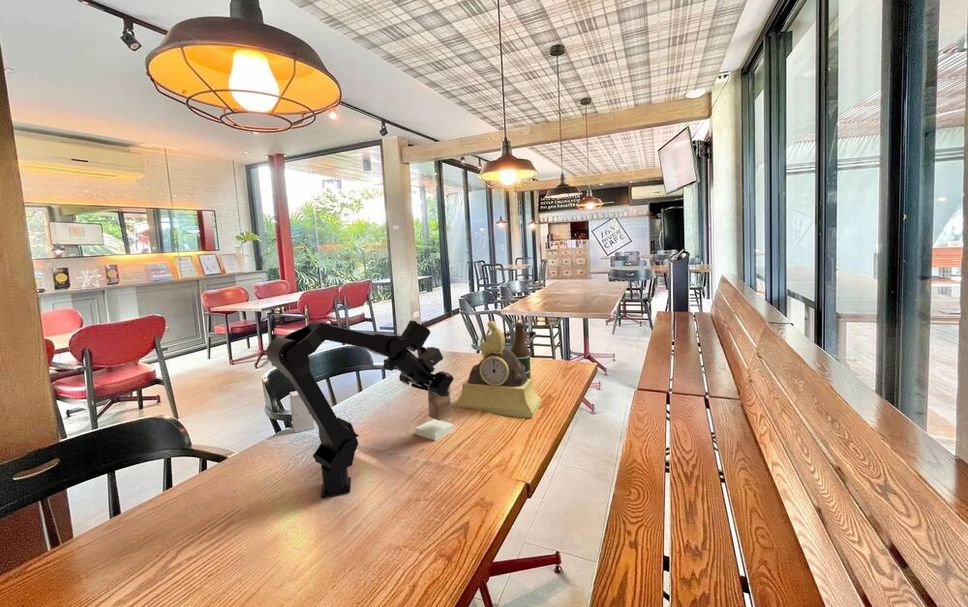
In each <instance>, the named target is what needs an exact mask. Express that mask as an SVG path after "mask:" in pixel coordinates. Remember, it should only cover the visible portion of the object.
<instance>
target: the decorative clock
mask: <svg viewBox="0 0 968 607" xmlns="http://www.w3.org/2000/svg"><path fill="white" fill-rule="evenodd" d="M486 325H487V327H488V330H486V335H485V336H486V337H485V340H486V341H482V342H480V343H479V346H480V351H481V352H480V353H481V355H482V357H483V359H481V360H480V361H479V362H478V364H474V365H473V366H472V367H471V370H470V372H469V376H468V379H466V380H465V381H464V382H463V383H462V385H461V387H462V389H461V393H460V395H459V397H458V398H457V400H455V401H454V402H453V403H452V404H451V407H458V408H466V409H467V408H469V409H475V410H477V411H481V412H485V413H489V414H491V415H497V416H507V417H516V418H525V419H526V418H527V419H534V418H535V415H536V413H537V412H538V410H539V408H540V407H541V405H542V398H541V397H540V396H539V395H538V393H537V392H536V391H535V389H534V387H533V379H532V378H530V379H527V377H526V373H525V367H524V365H523V364H522V363H521V362H520V361H519V360H518V358H517V357H516V356H515V354H514V353H513V352H512V351H511V350H510V349H509V348H505V347H506V338H505V335H504V332H503V331H502V330H501V329H500V328H499V327H498V326H497V324H496V322H495V321H494V320H490V321H488V322H487V324H486ZM490 332H491V333H490ZM489 333H490V335H489Z"/></svg>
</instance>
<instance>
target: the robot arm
mask: <svg viewBox="0 0 968 607" xmlns="http://www.w3.org/2000/svg"><path fill="white" fill-rule="evenodd" d="M430 334H431V330H430V329H429V328H428V327H427V326H424V325H422V324H420V323H419V322H417V321H416V320H412V319H411V320H409V322H408V323H407V326H406V327H405V329H404V331H403V332H402V334H400V335H396V334H391V333H387V332H378V331H377V332H375V331H371V332H369V331H368V332H363V331H360V330H354V329H351V328H346V327H341V326H337V325H333V324H329V323H328V322H325V321H321V320H320V321H319V320H314V321H312V322H311V323H308V324H307V325H305V326H304V327H302V328H299V329H296V330H295V331H292V332H289V333H288V334H286V335H285V336H283V337H278V338H275V339H273V340H272V341H271V342H270V343H269V344H268V346H267V348H266V350H265V354H266V355H265V356H266V358H267V359H268V361H269V362H271V363H272V365H273V366H274V367H275V368H276V369H277V371H280V373H281V374H283V375H284V376H285V377H286V378H287V379H289V381H290V383H291V384H292V386H293V388H294V390H295V391H297V393H298V394H299V396H300V397H301V399H302V401H303V402H304V404H305V406H306V407H307V409H308V411H309V412H310V414H311V416H312V417H313V419H314V423H315V424H316V426H317V427H318V438H319V440H320V442H321V443H320V444H319V446H318V447H317V448H316V450H315V451H314V454H313V455H312V457H313V459H314V461H315V462H316V463H318V464H320V467H321V468H320V470H321V480H322V481H321V483H322V485H321V491H320V498H323V499H324V498H328V497H333V496H338V495H344V494H349V493H350V492H351V488H352V487H351V482H352V478H351V477H352V476H349V472H348V468H350V467H352V466H353V462H354V459H355V458H354V457H355V453H356V450H357V448H358V446H359V440H358V437H359V434H358V433H356V432H355V430H354V427H353V425H352V423H351V422H349V421H347V420H345V419H343V418H341V417H337V415H336V414H335V412H334V410H333V408H332V407H331V405H330V403H329V401H328V400H327V398H326V396H325V394H324V393H323V391H322V390H321V388H320V386H319V385H318V382H317V381H316V379H315V377H314V376H313V373H312V371H311V360H310V355H312V354H313V353H315V351H317V349H318V348H319V347H320V346H321V345H322V344H323V343H324V342H325V341H329V342H333V343H334V342H335V343H340V344H344V345H349V346H354V347H360V348H362V349H364V350H366V351H368V352H370V353H373V354H375V355H379V356H382V357H386V358H385V359H383V367H382V368H383V369H384V370H387V371H391V372H393V371H394V368H395V369H397V371H399V372H400V374H399V378H398V379H399V381H400V382H401V383H402V384H404V385H407V386H409V385H410V383H411V387H413V388H415V389H419V390H423V391H426V392H428V386H429V385H430V386H429V389H430V392H429V393H431V394H434V395H437V396H440V397H442V396H446V397H448V395H449V392H448V390H447V389H448V388H449V386H450V387H451V385H452V383H453V381H454V380H455V379H454V376H453V375H452V374H451V373H448V372H446V371H443V370H442V371H438V372H436V373H435V374H433V373H434V371H435V370H436V368H435V367H434V366H436V365H437V364H439V362H441V361H443V360H444V357H443V354H442V353H441V350H440V348H437V347H433V346H431V347H430V346H429V347H428V346H427V347H425V346H424V344H425V343H426V341H427V339H428V338H429V336H430ZM416 351H417V356H416V355H415V354H414V353H413V352H416ZM430 383H431V384H430Z"/></svg>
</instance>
